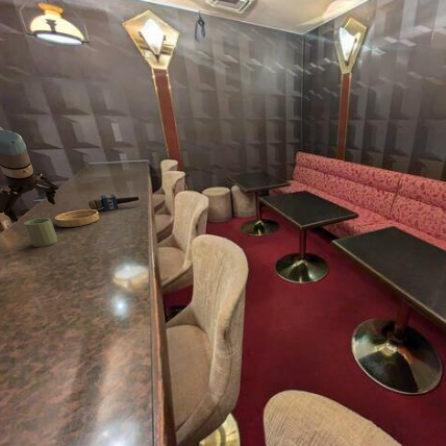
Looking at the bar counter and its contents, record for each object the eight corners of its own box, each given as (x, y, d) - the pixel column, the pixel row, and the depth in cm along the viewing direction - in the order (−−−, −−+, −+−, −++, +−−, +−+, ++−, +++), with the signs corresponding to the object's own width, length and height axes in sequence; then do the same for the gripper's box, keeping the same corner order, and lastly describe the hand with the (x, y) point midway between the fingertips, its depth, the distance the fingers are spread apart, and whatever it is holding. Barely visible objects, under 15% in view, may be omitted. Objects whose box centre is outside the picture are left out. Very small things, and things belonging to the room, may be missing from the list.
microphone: (138, 193, 155) (87, 200, 139) (140, 205, 158) (91, 213, 142) (135, 191, 161) (86, 197, 145) (138, 202, 163) (90, 209, 147)
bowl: (53, 230, 119) (51, 222, 117) (60, 219, 132) (57, 212, 130) (98, 223, 128) (96, 216, 126) (100, 214, 141) (98, 207, 139)
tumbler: (30, 248, 102) (21, 225, 98) (35, 241, 108) (26, 219, 104) (56, 244, 106) (48, 222, 102) (59, 237, 112) (52, 216, 108)
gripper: (-17, 193, 80) (4, 233, 93) (64, 165, 99) (72, 201, 112) (-38, 181, 79) (-13, 222, 93) (48, 154, 98) (58, 192, 112)
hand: (33, 210), depth 103 cm, fingers open, 13 cm apart
